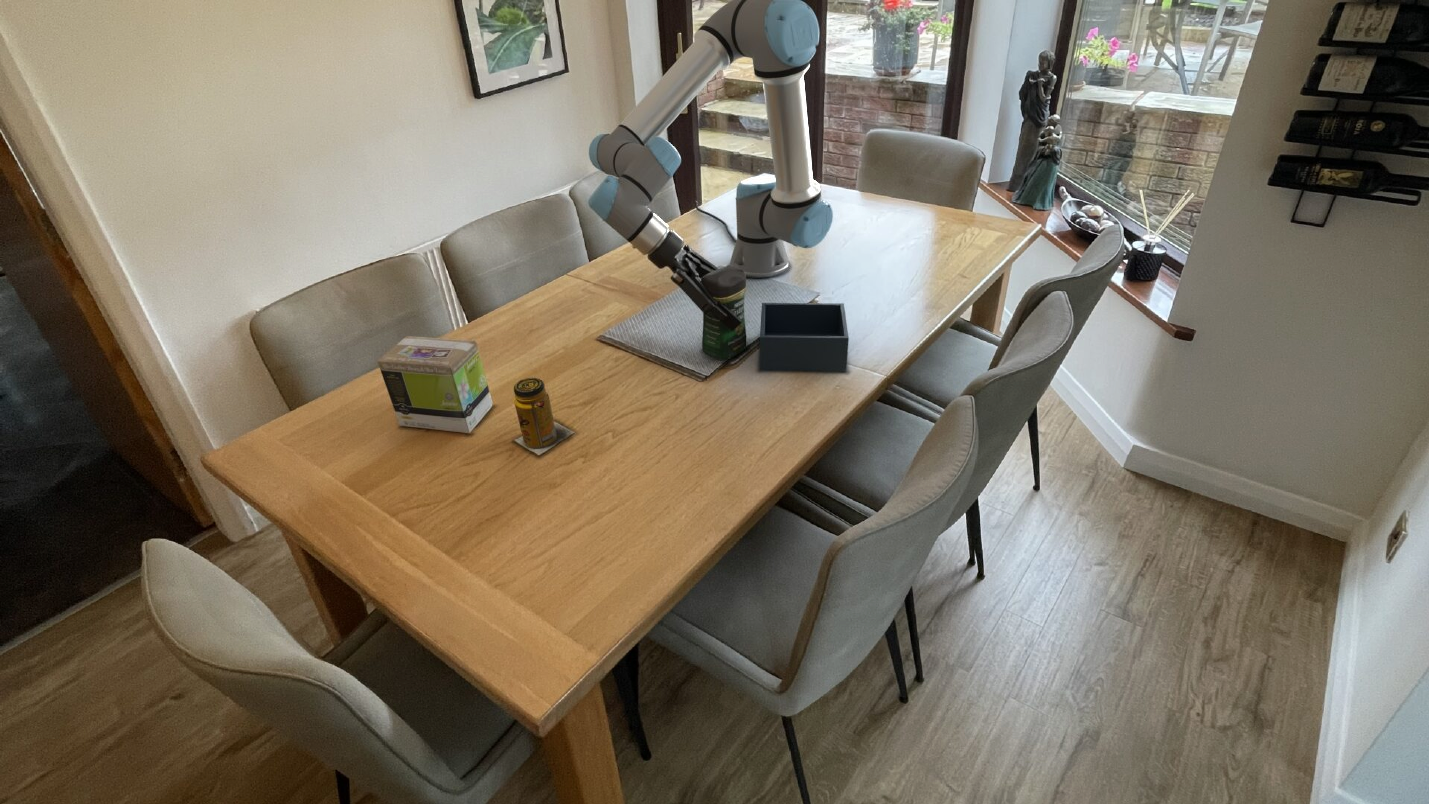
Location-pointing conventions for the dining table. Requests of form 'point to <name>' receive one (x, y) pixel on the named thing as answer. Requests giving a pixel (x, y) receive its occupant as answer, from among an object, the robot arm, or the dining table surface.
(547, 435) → the condiment
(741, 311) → the coffee jar
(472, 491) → the dining table surface
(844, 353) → the open storage box
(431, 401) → the tea box
